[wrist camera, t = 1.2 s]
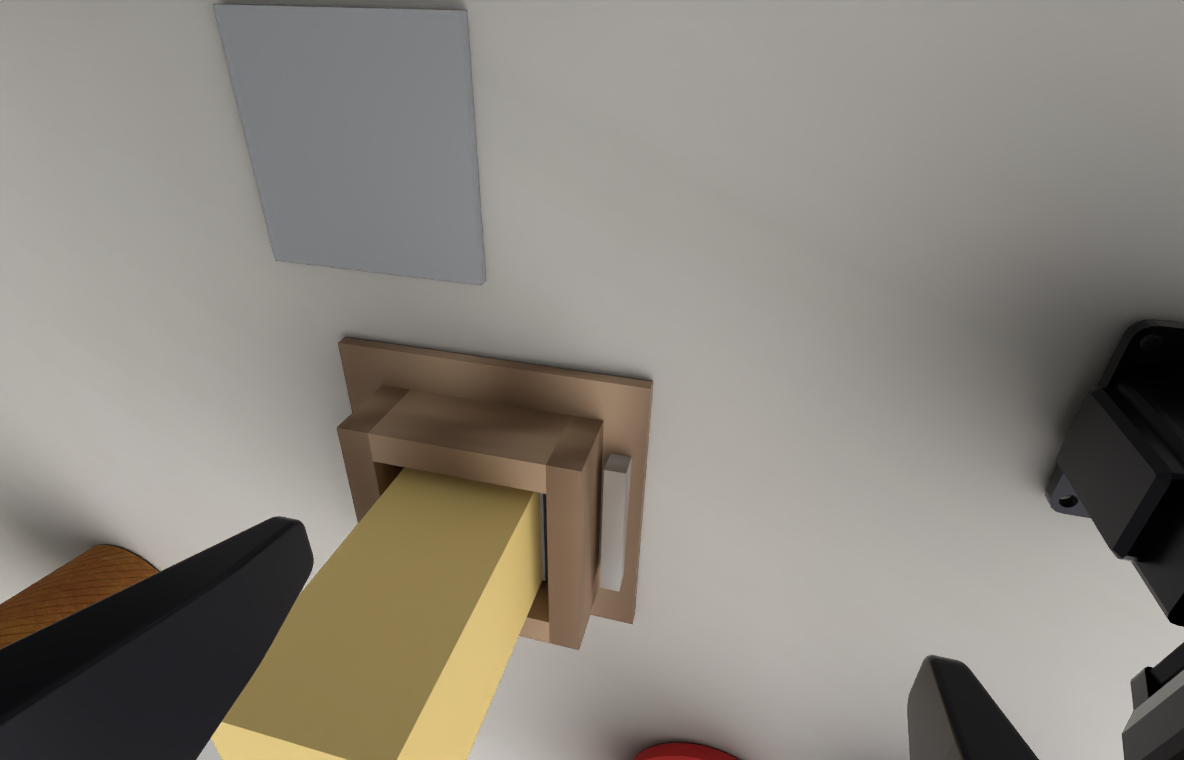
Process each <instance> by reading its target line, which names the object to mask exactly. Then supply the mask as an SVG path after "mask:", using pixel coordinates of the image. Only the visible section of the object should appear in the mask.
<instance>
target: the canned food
mask: <svg viewBox="0 0 1184 760" xmlns="http://www.w3.org/2000/svg"><path fill="white" fill-rule="evenodd" d="M634 760H738V759H736V758H734V757H732V756H731V755H729V754H727V753H724V752H722V751H719V750H717V749H714V748H710V747H707V746H703V745H698V744H691V743H666V744H660V745H656V746H653V747H650V748H648V749H646V750H644V751H642V752H640V753H639V754H638V755H637V756H636V757H635V758H634Z"/></svg>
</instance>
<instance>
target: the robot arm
mask: <svg viewBox="0 0 1184 760" xmlns="http://www.w3.org/2000/svg"><path fill="white" fill-rule="evenodd" d="M1153 334H1156V337H1155V339H1154V340H1153V341H1152V342H1150V343H1148V344H1146V345H1140V342H1141V340H1142V339H1143V338H1144V337H1146V336H1148V335H1153ZM1056 461H1057V463H1058V467H1057V469H1056V471H1055V473H1054V475H1053V477H1052V479H1051V481H1050V483H1049V485H1048V487H1047V489H1046V493H1045V496H1046V498H1047V501H1048V502H1049V504H1050V506H1051V508H1052V509H1054V510H1055V511H1056V512H1060V513H1063V514H1069V515H1075V516H1081V517H1087V518H1091V519H1092V520H1093V522H1094V524H1095V525H1096V527H1097V529H1098V530H1099V532H1100V534H1101V535H1102V537H1103V538H1104V540H1105V542H1106V543H1107V545H1108V547H1109V548H1110V550H1111V551H1112V552H1113V554H1114V555H1115V556H1116V557H1117V558H1118V559H1122V560H1128V561H1131V562H1132V563H1133V565H1134V567H1135V568H1136V570H1137V571H1138V573H1139V574H1140V576H1141V578H1142V579H1143V581H1144V582H1145V584H1146V585H1147V587H1148V589H1149V590H1150V592H1151V593H1152V595H1153V596H1154V598H1155V600H1156V601H1157V603H1158V604H1159V606H1160V607H1161V609H1162V611H1163V612H1164V614H1165V615H1166V617H1167V618H1168V620H1169V621H1170V622H1171V623H1173V624H1175V625H1178V626H1183V627H1184V323H1179V322H1170V321H1160V320H1143V321H1140V322H1137V323H1135V324H1133V325H1132V326H1130V327H1129V328H1128V329H1127V330H1126V331H1125V333H1124V334H1123V336H1122V338H1121V340H1120V342H1119V344H1118V346H1117V348H1116V350H1115V352H1114V354H1113V356H1112V358H1111V360H1110V362H1109V364H1108V366H1107V368H1106V370H1105V372H1104V374H1103V376H1102V378H1101V380H1100V382H1099V384H1098V386H1097V387H1096V388H1095V389H1093V390H1092V391H1090V392H1089V393H1088V394H1087V396H1086V398H1085V400H1084V402H1083V404H1082V406H1081V409H1080V411H1079V413H1078V415H1077V417H1076V419H1075V421H1074V423H1073V425H1072V427H1071V429H1070V431H1069V433H1068V435H1067V437H1066V439H1065V441H1064V443H1063V445H1062V447H1061V449H1060V451H1059V453H1058V456H1057V458H1056ZM1065 495H1072V496H1071V497H1070V498H1067V499H1060V498H1061V497H1062V496H1065ZM313 563H314V558H313V554H312V550H311V547H310V543H309V540H308V537H307V533H306V530H305V527H304V525H303V523H302V522H301V521H299V520H295V519H291V518H286V517H280V516H277V517H273V518H270V519H268V520H266V521H264V522H262V523H260V524H258V525H255V526H253V527H251V528H249V529H247V530H245V531H243V532H241V533H239V534H237V535H235V536H233V537H231V538H229V539H227V540H224V541H222V542H220V543H218V544H216V545H214V546H212V547H210V548H208V549H206V550H204V551H202V552H200V553H198V554H196V555H194V556H191V557H189V558H187V559H185V560H183V561H181V562H179V563H177V564H175V565H173V566H171V567H169V568H167V569H165V570H163V571H160V572H158V573H156V574H154V575H152V576H150V577H148V578H146V579H144V580H142V581H140V582H138V583H136V584H134V585H132V586H129V587H127V588H125V589H123V590H121V591H119V592H117V593H115V594H113V595H111V596H109V597H107V598H105V599H103V600H101V601H98V602H96V603H94V604H92V605H90V606H88V607H86V608H84V609H82V610H80V611H78V612H76V613H74V614H72V615H70V616H67V617H65V618H63V619H61V620H59V621H57V622H55V623H53V624H51V625H49V626H47V627H45V628H43V629H41V630H38V631H36V632H34V633H32V634H30V635H28V636H26V637H24V638H22V639H20V640H18V641H16V642H14V643H12V644H10V645H7V646H5V647H3V648H2V649H0V760H196V759H197V757H198V756H199V754H200V753H201V752H202V750H203V748H204V747H205V746H206V744H207V742H208V741H209V740H210V738H211V737H212V735H213V734H214V732H215V731H216V729H217V728H218V726H219V725H220V724H221V722H222V721H223V719H224V718H225V716H226V715H227V713H228V712H229V710H230V709H231V707H232V706H233V704H234V703H235V701H236V700H237V698H238V697H239V695H240V694H241V692H242V691H243V689H244V688H245V687H246V685H247V684H248V682H249V681H250V679H251V678H252V676H253V675H254V673H255V671H256V670H257V668H258V667H259V665H260V664H261V662H262V660H263V659H264V657H265V655H266V653H267V652H268V650H269V648H270V647H271V645H272V643H273V641H274V639H275V637H276V636H277V634H278V632H279V630H280V628H281V627H282V625H283V623H284V621H285V619H286V617H287V616H288V614H289V612H290V610H291V608H292V607H293V605H294V603H295V601H296V599H297V597H298V596H299V594H300V592H301V590H302V588H303V587H304V585H305V583H306V581H307V579H308V577H309V576H310V573H311V571H312V568H313ZM1131 690H1132V699H1133V709H1134V711H1133V713H1132V715H1131V717H1130V719H1129V721H1128V723H1127V725H1126V727H1125V729H1124V731H1123V733H1122V741H1123V751H1124V760H1184V642H1183V643H1182V644H1181V645H1180V646H1179V647H1177V648H1176V649H1175V650H1174V651H1173V652H1172V653H1170V654H1169V655H1168V656H1167V657H1166V658H1164V659H1163V660H1162V661H1161V662H1160V663H1159V664H1157V665H1156V666H1155V667H1154V668H1152V667H1146V668H1144V669H1143V670H1142V671H1141V672H1140V673H1138V674H1137V675H1136V676H1135V677H1134V678H1133V679H1131ZM907 716H908V733H909V750H910V760H1039V759H1038V758H1037V757H1036V755H1035V754H1034V753H1033V751H1032V750H1031V749H1030V747H1029V746H1028V745H1027V743H1026V742H1025V741H1024V740H1023V738H1022V737H1021V736H1020V734H1019V733H1018V732H1017V730H1016V729H1015V728H1014V726H1013V725H1012V724H1011V723H1010V721H1009V720H1008V719H1007V717H1006V716H1005V715H1004V713H1003V712H1002V711H1001V709H1000V708H999V707H998V705H997V704H996V703H995V702H994V700H993V699H992V698H991V696H990V695H989V694H988V692H987V691H986V690H985V688H984V687H983V686H982V684H981V683H980V682H979V681H978V679H977V678H976V677H975V675H974V674H973V673H972V671H971V670H970V669H969V668H968V667H967V666H966V665H965V664H964V663H962V662H961V661H958V660H954V659H949V658H945V657H940V656H935V655H929V656H927V657H926V658H925V659H924V661H923V663H922V665H921V667H920V670H919V672H918V674H917V677H916V679H915V681H914V684H913V686H912V688H911V691H910V693H909V697H908V704H907Z"/></svg>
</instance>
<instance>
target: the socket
mask: <svg viewBox="0 0 1184 760" xmlns="http://www.w3.org/2000/svg"><path fill="white" fill-rule="evenodd" d="M338 346H339V350H340V355H341V360H342V365H343V370H344V375H345V379H346V384H347V389H348V394H349V399H350V404H351V409H352V414H351V415H350V416H349V417H348V418H347V419H346V420H345V421H344V422H342V423H341V424H340V425H339V426H338V427H337V431H338V436H339V440H340V445H341V449H342V454H343V458H344V463H345V467H346V471H347V476H348V480H349V485H350V489H351V494H352V498H353V503H354V507H355V512H356V516H357V520H358V523H359V522H360V521H361V520H362V518H363V517H364V516H365V515H366V513H367V512H368V511H369V510H370V509H371V507H372V506H373V505H374V504H375V503H376V501H377V500H378V499H379V498H380V496H381V495H382V494H383V493H384V492H385V490H386V489H387V488H388V487H389V486H390V484H391V483H392V482H393V481H394V480H395V478H396V477H397V476H398V475H399V473H400V472H401V471H402V470H403V469H404V467H406V468H411V469H417V470H422V471H427V472H433V473H438V474H443V475H449V476H454V477H459V478H465V479H470V480H475V481H480V482H486V483H491V484H496V485H502V486H507V487H512V488H518V489H523V490H528V491H534V492H539V493H544V494H546V506H547V551H548V575H547V578H546V580H545V581H544V580H542V582H541V584H540V586H539V589H538V591H537V594H536V596H535V598H534V601H533V603H532V606H531V608H530V610H529V613H528V615H527V617H526V620H525V622H524V625H523V627H522V629H521V632H520V634H519V636H522V637H527V638H531V639H535V640H539V641H543V642H548V643H552V644H556V645H560V646H564V647H568V648H573V649H577V650H579V648H580V645H581V642H582V639H583V636H584V633H585V629H586V626H587V623H588V620H589V617H590V615H594V616H599V617H603V618H608V619H612V620H616V621H621V622H625V623H630V624H633V619H634V615H635V603H636V591H637V578H638V566H639V553H640V541H641V528H642V515H643V503H644V490H645V478H646V465H647V453H648V440H649V428H650V415H651V402H652V390H653V382H651V381H644V380H637V379H631V378H624V377H617V376H610V375H603V374H596V373H589V372H582V371H575V370H568V369H562V368H555V367H548V366H541V365H534V364H527V363H520V362H513V361H506V360H500V359H493V358H486V357H479V356H472V355H465V354H458V353H451V352H444V351H438V350H431V349H424V348H417V347H410V346H403V345H396V344H389V343H382V342H376V341H369V340H362V339H355V338H348V337H345V338H344V339H342V340H341V341H340V342H338Z"/></svg>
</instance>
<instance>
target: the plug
mask: <svg viewBox="0 0 1184 760" xmlns="http://www.w3.org/2000/svg"><path fill="white" fill-rule="evenodd" d="M547 575H548V551H547V506H546V494H544V493H539V492H534V491H528V490H523V489H518V488H512V487H507V486H502V485H496V484H491V483H486V482H480V481H475V480H470V479H465V478H459V477H454V476H449V475H443V474H438V473H433V472H427V471H422V470H417V469H411V468H406V467H404V469H403V470H402V471H401V472H400V473H399V475H398V476H397V477H396V478H395V480H394V481H393V482H392V483H391V484H390V486H389V487H388V488H387V489H386V490H385V492H384V493H383V494H382V495H381V496H380V498H379V499H378V500H377V501H376V503H375V504H374V505H373V506H372V507H371V509H370V510H369V511H368V512H367V513H366V515H365V516H364V517H363V518H362V520H361V521H360V522H359V523H358V524H357V526H356V527H355V528H354V529H353V530H352V532H351V533H350V534H349V535H348V537H347V538H346V539H345V540H344V541H343V543H342V544H341V545H340V546H339V547H338V549H337V550H336V551H335V552H334V554H333V555H332V556H331V557H330V558H329V560H328V561H327V562H326V563H325V564H324V566H323V567H322V568H321V569H320V570H319V572H318V573H317V574H316V575H315V577H314V578H313V579H312V580H311V581H310V583H309V584H308V585H307V586H306V587H305V589H304V590H303V591H302V592H301V594H300V595H299V596H298V597H297V599H296V601H295V603H294V605H293V607H292V608H291V610H290V612H289V614H288V616H287V617H286V619H285V621H284V623H283V625H282V627H281V628H280V630H279V632H278V634H277V636H276V637H275V639H274V641H273V643H272V645H271V647H270V648H269V650H268V652H267V653H266V655H265V657H264V659H263V660H262V662H261V664H260V665H259V667H258V668H257V670H256V671H255V673H254V675H253V676H252V678H251V679H250V681H249V682H248V684H247V685H246V687H245V688H244V689H243V691H242V692H241V694H240V695H239V697H238V698H237V700H236V701H235V703H234V704H233V706H232V707H231V709H230V710H229V712H228V713H227V715H226V716H225V718H224V719H223V721H222V722H221V724H220V725H219V726H218V728H217V729H216V731H215V732H214V734H213V735H212V737H211V739H212V740H213V743H214V745H215V747H216V749H217V751H218V752H219V755H220V757H221V759H222V760H467V758H468V756H469V753H470V751H471V749H472V746H473V744H474V742H475V739H476V737H477V734H478V732H479V730H480V727H481V725H482V722H483V720H484V718H485V715H486V713H487V711H488V708H489V706H490V703H491V701H492V699H493V696H494V694H495V691H496V689H497V687H498V684H499V682H500V679H501V677H502V675H503V672H504V670H505V668H506V665H507V663H508V660H509V658H510V656H511V653H512V651H513V648H514V646H515V644H516V641H517V639H518V637H519V634H520V632H521V629H522V627H523V625H524V622H525V620H526V617H527V615H528V613H529V610H530V608H531V606H532V603H533V601H534V598H535V596H536V594H537V591H538V589H539V586H540V584H541V582H542V580H544V581H545V580H546V578H547Z"/></svg>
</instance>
